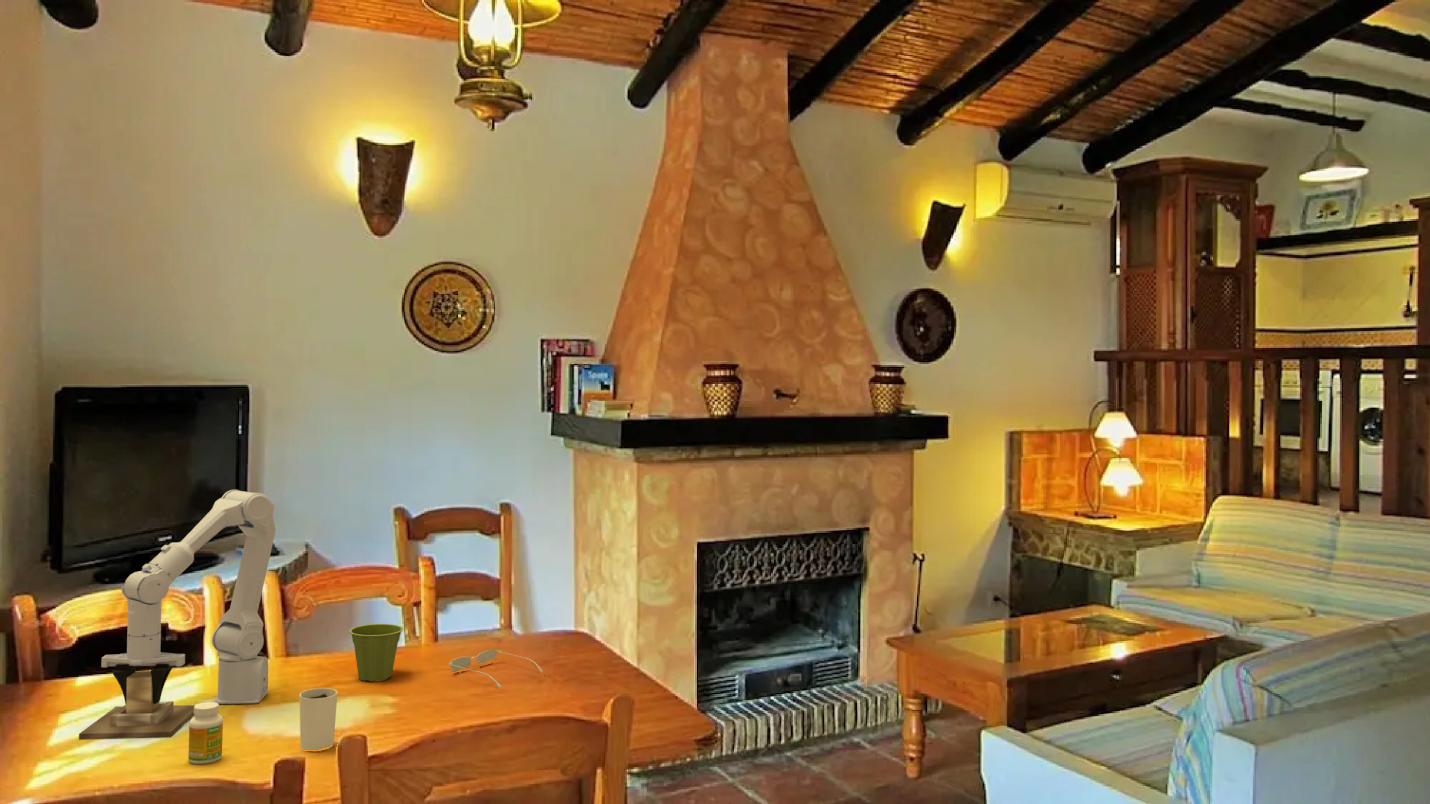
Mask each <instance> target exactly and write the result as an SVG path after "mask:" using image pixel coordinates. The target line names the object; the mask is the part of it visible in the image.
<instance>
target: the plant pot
mask: <svg viewBox="0 0 1430 804" xmlns="http://www.w3.org/2000/svg"><path fill="white" fill-rule="evenodd" d="M403 631H404V627H403V626H401V625H397V624H392V623H371V624H362V625H357V626H353V627H351V628H350V629H349V631H348V632H349V634H351V639H352V644H353V645H354V646H353V647H354V654H355V661H356V667H357V675H358V679H359V680H361V681H362V680H363V682H364V681H365V682H366V681H369V682H372V681H377V682H380V681H381V682H383V681H386V680H388V679H389V678H391V677H392V675H393V670H394V664H395V660H396V655H397V649H398V645H399V641H400V638H401V633H402V632H403Z"/></svg>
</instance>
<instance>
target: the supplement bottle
mask: <svg viewBox="0 0 1430 804" xmlns="http://www.w3.org/2000/svg"><path fill="white" fill-rule="evenodd" d="M194 705H195V706H194V716H193V717H192V718H191V719H190V720H189V724H188V754H187V755H188V759H187V760H188V762H189V763H191V764H194V765H195V764H196V765H204V764H212V763H215V762H217V761H219V760H220V759H221V758H222V756H223V734H224V733H223V730H224V729H223V728H224V727H223V726H224V724H223V723H224V718H223V716H222V715H220V714H218V713H220V712H219V710H220V706H219V705H220V704H218V703H215V702H211V701H209V702H208V701H207V702H200V703H197V704H194Z"/></svg>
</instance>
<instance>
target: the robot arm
mask: <svg viewBox="0 0 1430 804" xmlns="http://www.w3.org/2000/svg"><path fill="white" fill-rule="evenodd" d="M275 506H276V505H275V504H274V503H273V502H272V501H271V500H270V498H269V497H268V496H267V495H266V494H264V493H262V492H252V491H251V492H250V491H243V490H239V489H230V490H228V491H226V492H225V493H224V494H223V495H222V497H220V498H218V499H217V500H216V501H215V502H214V504H213V505H212V508H211V509H210V511H209V512H207V514H205V516H204V517H203V518H202V519H201V520H200V521H199V522H198V523H197V524H196V525H195V526H194V527H193V528H192V530H191V531H190V532H188V533H187V534H186V536H185V537H184V538H183V539H182V540H180V541H178V542H169V544H164V545H163V546H162V547H161V548H160V550H161V551H160V552H159V553H158V554H157V555H156V556H155V557H154V558H153V559H152V560H150V561H149V562H148V563H145V564H144V565H143V566H142V567H141V568H142V569H141V570H140V571H135V572H133V573H131V574H129V576H128V577H127V578H126V579H125V582H124V583H123V584H124V585H123V586H121V587H120V588H121V593H122V595H123V597H124V598H126V600H127V601H126V602H127V633H126V634H127V636H126V637H127V638H126V643H127V644H126V653H120V654H119V653H118V654H105V655H104V656H102V657H101V663H100V664H101V666H100V667H101V668H108V667H115V668H114V670H113V671H112V675H113V676H114V678H115V680H116V681H117V683H118V684H119V687H120V688H121V692H122V695H123V698H124V703H125V704H126V694H127V677H129V676H130V675H132V674H133V673H134V672H136V671H137V667H149V666H151V667H153V668H152V669H150V671H151V676H152V684H153V692H152V698H153V704H157V703H158V702H161V697H162V693H163V691H164V687H165V684H166V681H167V679H168V678H169V675H170V673H171V671H172V670H173V668H174V666H175V667H182V666H184V665H185V663H186V654H185V653H171V652H161V644H162V643H161V639H162V632H161V631H162V600H163V599H165V598H166V596H167V594H169V590H170V586H171V585H172V583H173V582H174V581H175V580H176V579H177V578H179V576H180V575H181V574H182V573H183V572H184V571H186V569H188V568H189V567H190V565H192V564H193V562H194V561H195V553H196V552H197V551H198V550H200V549H201V548H202V547H203V546H204V545H206V543H208V542H209V541H210V540H211V539H213V537H215V536H216V535H217V534H219V532H221V531H222V530H223V529H224V528H226V527H233V526H234V527H235V526H238V528H239V529H240V530H241V531H242V532H243V534H244V535H245V540H244V545H243V550H242V555H241V559H240V563H239V568H238V572H237V576H236V582H235V585H234V589H233V593H232V594H233V595H232V598H231V603H230V607H229V609H228V610H227V611H226V612H224V614H223V615H221V617H220V621H219V622H218V625H217V626H216V628H215V630H214V631H213V633H212V637H211V644H212V647H213V648H214V650H215V651H217V657H218V668H217V669H218V671H217V672H218V675H217V676H218V678H217V679H218V680H217V696H215V697H214V698H213V699H212V700H211V701H210V702H215V703H218V704H219V705H222V704H223V705H227V704H228V705H229V704H230V705H235V704H239V705H240V704H259V703H260V702H261V701H262V700H263V699H264V697H266V695H267V694H268V693H269V692H270V691H269V660H268V658H267V657H266V656H259V655H258V654H259V653H260V652H261V650H262V649H263V646H264V641H265V640H264V639H265V638H264V635H263V627H264V622H263V620H262V618H261V617H260V614H259V613H258V612H259V606H260V603H261V598H262V594H263V590H264V585H265V580H266V575H267V571H268V567H269V562H270V557H271V553H272V548H273V544H274V540H275V535H276V526H275V520H274V517H273V516H274V511H275ZM125 704H124V705H125Z"/></svg>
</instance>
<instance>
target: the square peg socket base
mask: <svg viewBox="0 0 1430 804" xmlns="http://www.w3.org/2000/svg"><path fill="white" fill-rule="evenodd" d="M174 702H175V701H171V700H170V701H159V709H158V710H156V711H155V712H154V713H141V714H126V704H124V705H123V706H122V705H121V706H118V705H117V706H114V707H113V708H112V709H110V710H109V711H107V712H106V713H105V714H104V715H103V716H100V717H99V718H98V719H97V720H96V721H94V722H93V723H92V724H90V725H89V726H87V727H86V728H84V729H83V730H81V732H79V733H78V740H98V739H99V740H104V739H107V740H108V739H132V738H133V739H137V738H138V739H141V738H142V739H143V738H146V739H147V738H172V737H173V736H174V735H175V734H176V732H178V731H179V730H180V729H181V728H182V727H184V725H185V724H187V722H190V720H191V719H192V718H193V717H195V715H194V706H195V705H196V704H187V705H186V704H183V705H182V704H180V705H177V704H175V705H174Z"/></svg>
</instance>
